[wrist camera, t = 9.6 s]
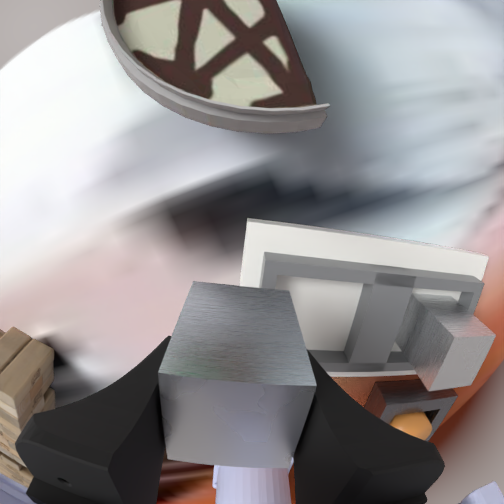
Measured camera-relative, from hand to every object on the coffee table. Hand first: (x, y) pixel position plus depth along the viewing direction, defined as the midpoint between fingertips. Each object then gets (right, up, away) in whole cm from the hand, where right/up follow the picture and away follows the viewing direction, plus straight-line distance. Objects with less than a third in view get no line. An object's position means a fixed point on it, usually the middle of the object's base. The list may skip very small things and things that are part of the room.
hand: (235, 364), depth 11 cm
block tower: (-26, -16, +15) cm, 34 cm away
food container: (-2, +16, +5) cm, 17 cm away
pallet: (+9, 0, +10) cm, 13 cm away
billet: (0, +1, +2) cm, 2 cm away
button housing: (+15, -11, +14) cm, 23 cm away
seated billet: (+14, -1, +9) cm, 16 cm away
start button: (+15, -11, +13) cm, 22 cm away
